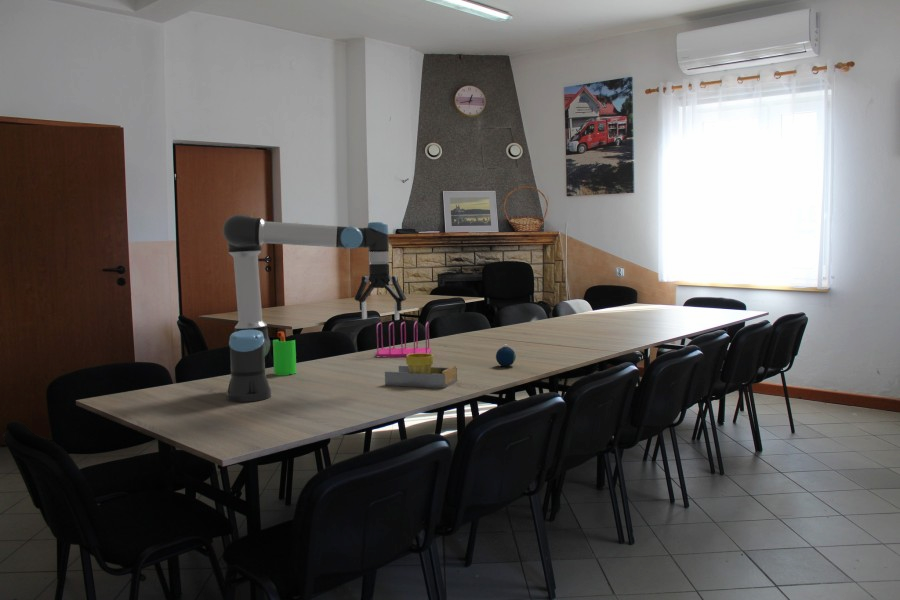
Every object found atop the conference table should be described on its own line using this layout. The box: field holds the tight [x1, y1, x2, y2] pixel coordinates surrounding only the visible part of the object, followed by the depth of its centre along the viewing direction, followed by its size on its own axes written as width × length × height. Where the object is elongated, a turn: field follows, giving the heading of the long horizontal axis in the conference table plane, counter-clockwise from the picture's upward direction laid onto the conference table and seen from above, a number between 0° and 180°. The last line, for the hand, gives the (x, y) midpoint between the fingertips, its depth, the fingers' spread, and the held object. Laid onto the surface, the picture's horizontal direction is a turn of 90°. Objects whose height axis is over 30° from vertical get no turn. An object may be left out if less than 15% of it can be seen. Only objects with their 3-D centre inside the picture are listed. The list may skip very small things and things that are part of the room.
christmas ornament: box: [495, 343, 516, 367], centre depth 302 cm, size 8×8×10 cm
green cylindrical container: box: [272, 331, 297, 376], centre depth 294 cm, size 9×8×18 cm
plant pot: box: [405, 353, 434, 373], centre depth 270 cm, size 10×10×10 cm
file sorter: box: [375, 320, 432, 358], centre depth 340 cm, size 17×25×16 cm
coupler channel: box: [384, 365, 458, 389], centre depth 270 cm, size 14×24×6 cm, turn 70°
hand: (380, 319), depth 268 cm, fingers open, 13 cm apart
